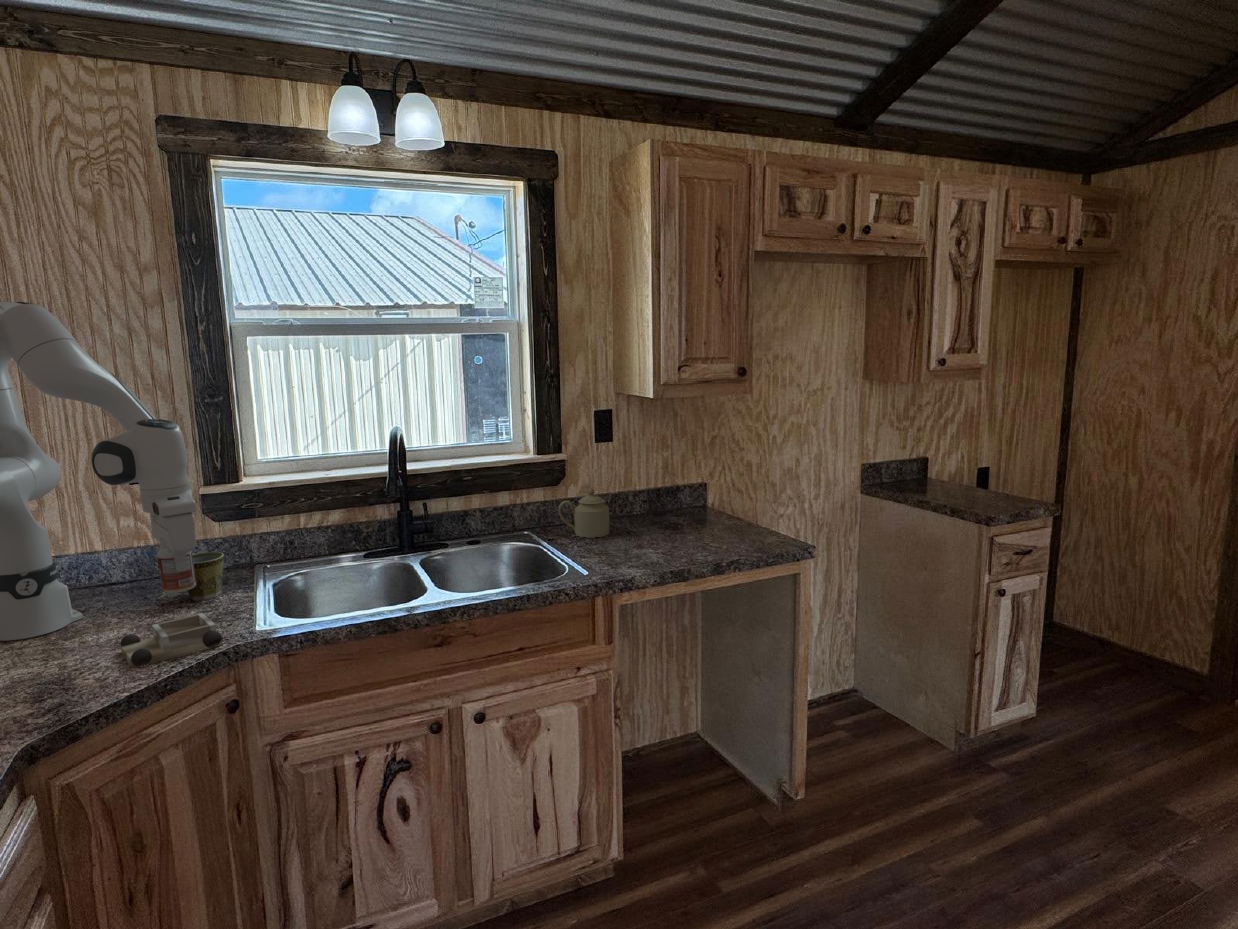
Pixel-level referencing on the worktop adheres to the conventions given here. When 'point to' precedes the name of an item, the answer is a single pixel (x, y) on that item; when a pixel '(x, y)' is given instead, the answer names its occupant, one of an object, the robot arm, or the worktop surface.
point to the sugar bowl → (589, 516)
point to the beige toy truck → (171, 640)
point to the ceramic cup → (207, 575)
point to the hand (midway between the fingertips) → (176, 566)
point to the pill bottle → (175, 571)
